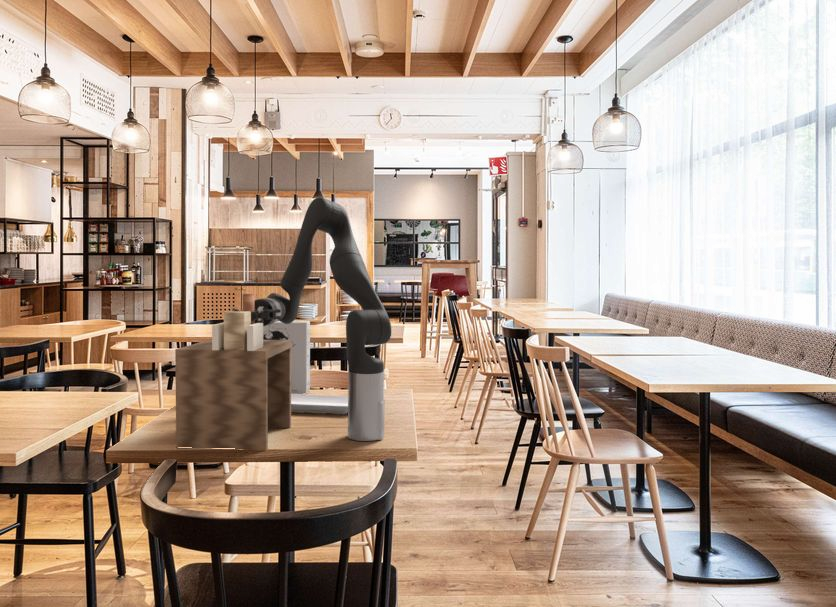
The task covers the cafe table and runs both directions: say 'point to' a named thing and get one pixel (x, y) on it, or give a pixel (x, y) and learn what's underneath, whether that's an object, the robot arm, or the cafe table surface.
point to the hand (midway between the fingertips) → (245, 316)
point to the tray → (319, 403)
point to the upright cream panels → (252, 336)
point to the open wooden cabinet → (232, 395)
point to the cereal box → (294, 350)
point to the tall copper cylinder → (238, 324)
